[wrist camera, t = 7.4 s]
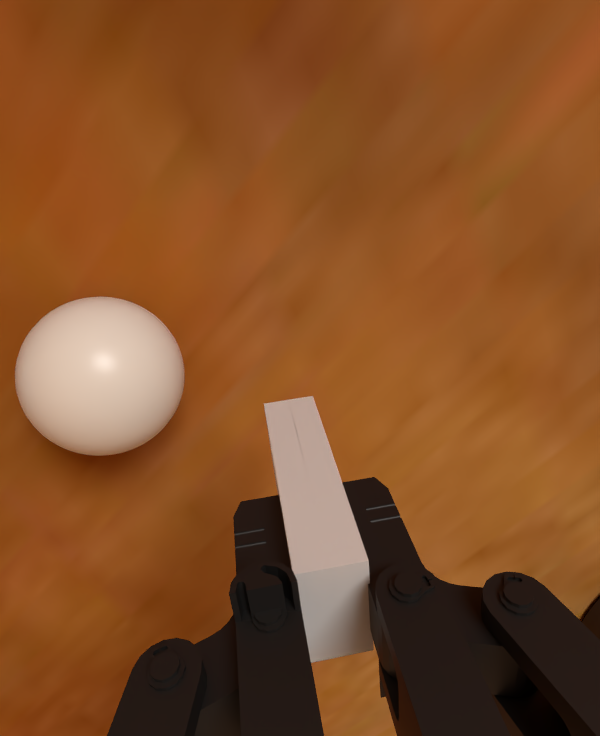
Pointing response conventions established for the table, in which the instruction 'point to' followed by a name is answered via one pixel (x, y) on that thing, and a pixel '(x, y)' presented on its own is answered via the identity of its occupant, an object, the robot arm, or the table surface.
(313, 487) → the robot arm
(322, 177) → the table surface
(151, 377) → the cue ball
